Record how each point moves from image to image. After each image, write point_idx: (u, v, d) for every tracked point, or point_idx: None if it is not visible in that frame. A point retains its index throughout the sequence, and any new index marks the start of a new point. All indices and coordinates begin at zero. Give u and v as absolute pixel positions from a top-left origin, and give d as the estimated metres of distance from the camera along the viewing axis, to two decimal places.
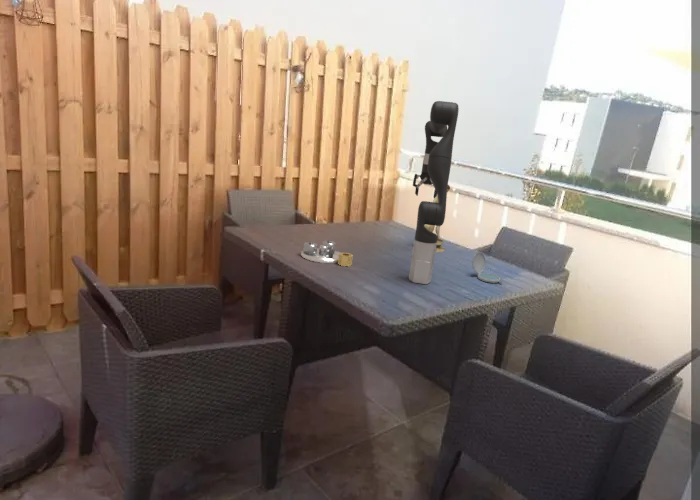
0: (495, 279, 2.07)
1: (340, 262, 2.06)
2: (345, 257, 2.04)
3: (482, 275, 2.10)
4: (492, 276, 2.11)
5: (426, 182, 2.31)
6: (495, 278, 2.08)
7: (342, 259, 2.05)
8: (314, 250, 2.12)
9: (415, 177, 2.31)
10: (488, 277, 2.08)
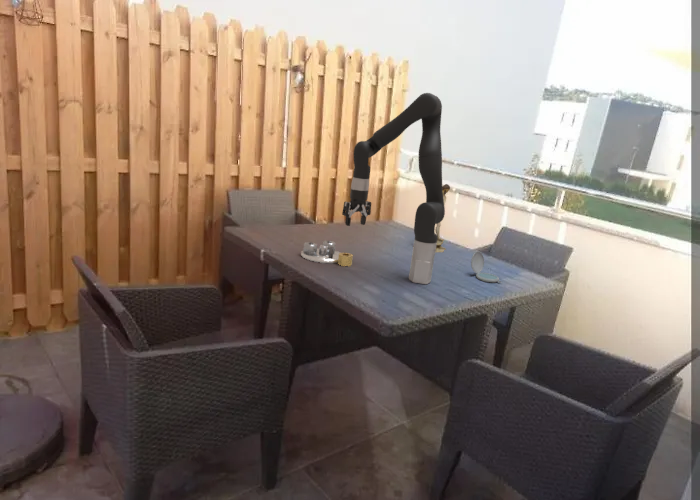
0: (494, 278, 2.07)
1: (340, 262, 2.06)
2: (345, 257, 2.04)
3: (481, 275, 2.11)
4: (491, 276, 2.11)
5: None
6: (494, 277, 2.09)
7: (342, 259, 2.05)
8: (314, 250, 2.12)
9: None
10: (487, 276, 2.09)
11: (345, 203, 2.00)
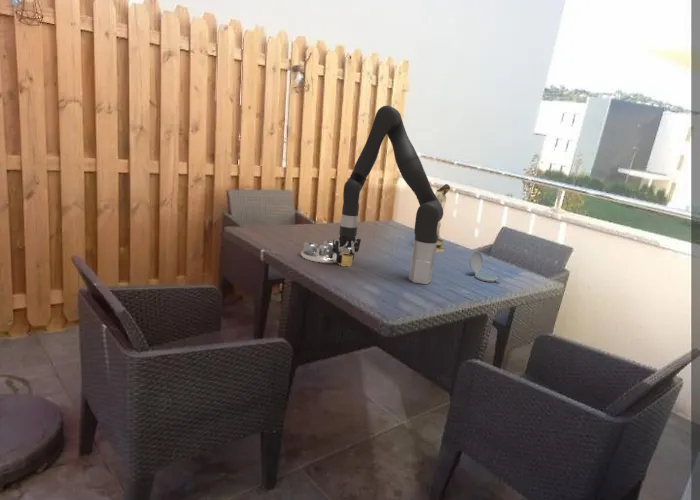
0: (492, 278, 2.08)
1: None
2: (345, 257, 2.04)
3: (479, 274, 2.11)
4: (489, 275, 2.12)
5: None
6: (492, 277, 2.09)
7: (342, 259, 2.05)
8: (314, 250, 2.12)
9: None
10: (485, 276, 2.09)
11: (334, 241, 2.02)
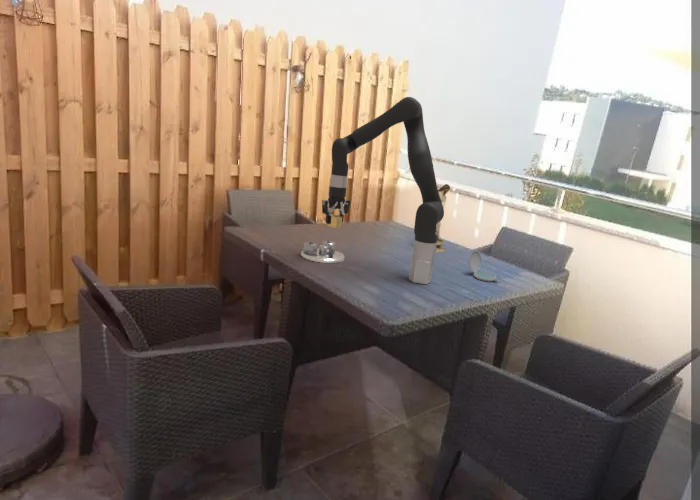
0: (491, 277, 2.08)
1: None
2: (334, 218, 2.04)
3: (478, 274, 2.12)
4: (488, 275, 2.12)
5: None
6: (491, 276, 2.10)
7: (331, 220, 2.04)
8: (314, 250, 2.12)
9: None
10: (484, 276, 2.10)
11: (323, 202, 2.01)
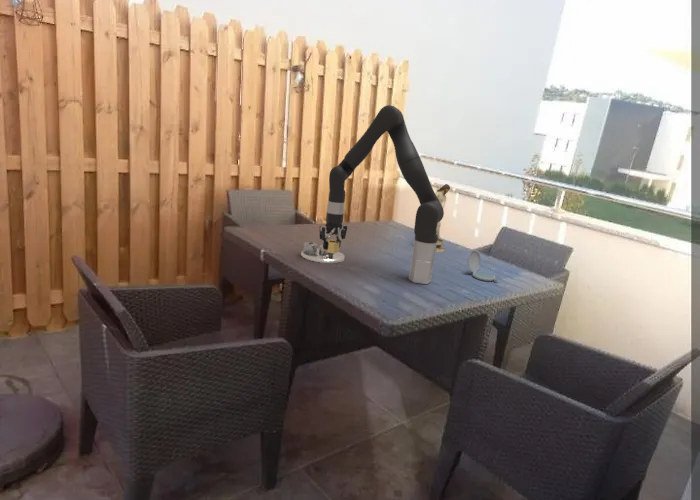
0: (490, 277, 2.08)
1: (327, 249, 2.08)
2: (331, 244, 2.07)
3: (477, 273, 2.12)
4: (487, 274, 2.13)
5: None
6: (490, 276, 2.10)
7: (328, 246, 2.07)
8: (314, 250, 2.12)
9: None
10: (483, 275, 2.10)
11: (320, 228, 2.04)
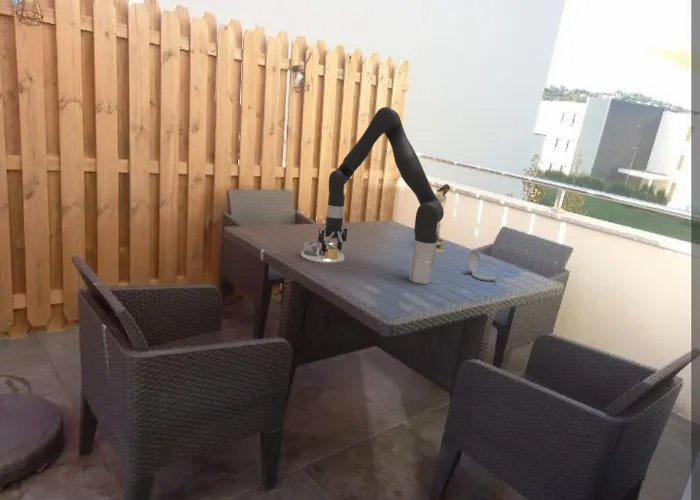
0: (489, 277, 2.09)
1: (326, 256, 2.09)
2: (331, 251, 2.07)
3: (476, 273, 2.13)
4: (486, 274, 2.13)
5: None
6: (489, 276, 2.10)
7: (328, 253, 2.08)
8: (314, 250, 2.12)
9: None
10: (482, 275, 2.11)
11: (320, 230, 2.04)
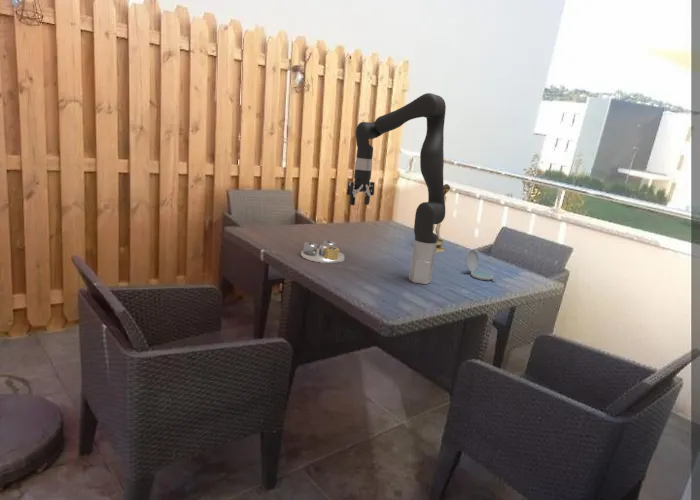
0: (488, 276, 2.09)
1: (326, 256, 2.09)
2: (331, 251, 2.07)
3: (475, 273, 2.13)
4: (485, 273, 2.13)
5: None
6: (488, 275, 2.11)
7: (328, 253, 2.08)
8: (314, 250, 2.12)
9: None
10: (481, 274, 2.11)
11: (349, 183, 2.06)
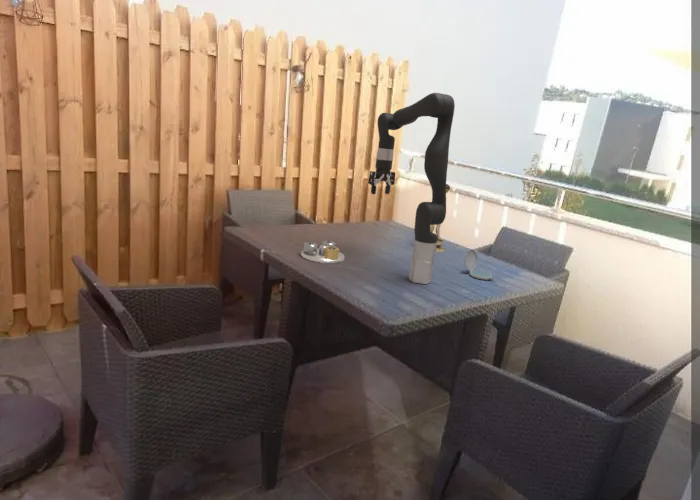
0: (487, 276, 2.10)
1: (326, 256, 2.09)
2: (331, 251, 2.07)
3: (474, 272, 2.13)
4: (484, 273, 2.14)
5: None
6: (487, 275, 2.11)
7: (328, 253, 2.08)
8: (314, 250, 2.12)
9: None
10: (480, 274, 2.12)
11: (371, 172, 2.12)
